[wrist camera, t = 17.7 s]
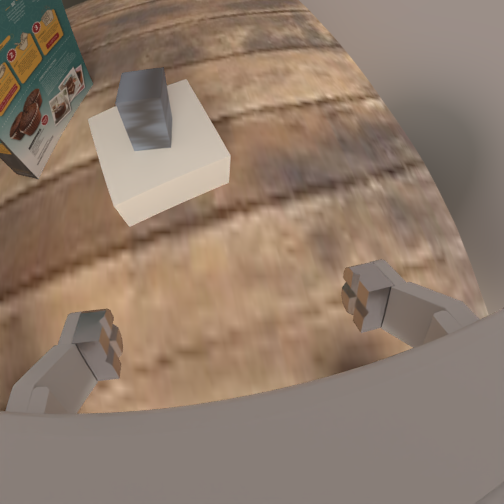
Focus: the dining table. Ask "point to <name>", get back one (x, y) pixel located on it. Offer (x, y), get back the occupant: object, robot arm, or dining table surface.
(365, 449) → the robot arm
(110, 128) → the painted box
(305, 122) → the dining table surface
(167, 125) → the slate block
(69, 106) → the cake mix box
